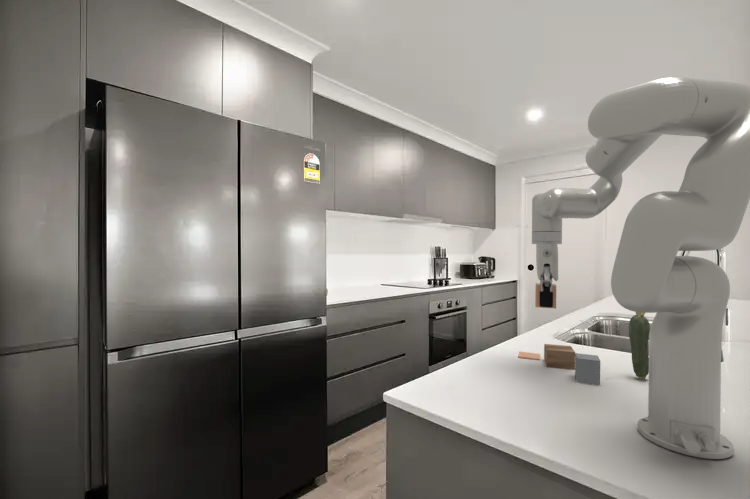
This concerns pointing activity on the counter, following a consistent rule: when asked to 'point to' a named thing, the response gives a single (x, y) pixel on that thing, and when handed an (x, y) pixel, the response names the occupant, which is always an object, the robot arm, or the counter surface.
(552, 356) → the base block
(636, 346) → the vegetable
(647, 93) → the robot arm
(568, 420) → the counter surface
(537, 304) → the terracotta cube
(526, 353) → the tile
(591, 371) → the slate cube
